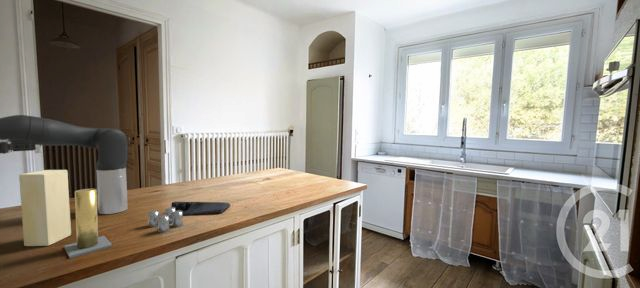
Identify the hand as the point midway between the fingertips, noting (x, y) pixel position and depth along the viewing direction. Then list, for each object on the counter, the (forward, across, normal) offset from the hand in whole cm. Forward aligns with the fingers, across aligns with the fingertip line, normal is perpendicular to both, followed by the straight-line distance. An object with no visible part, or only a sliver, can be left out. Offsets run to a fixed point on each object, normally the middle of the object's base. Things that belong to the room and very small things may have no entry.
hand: (34, 144), depth 68 cm
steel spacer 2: (+28, -6, +30) cm, 41 cm away
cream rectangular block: (+2, +12, +30) cm, 33 cm away
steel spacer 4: (+33, -5, +30) cm, 45 cm away
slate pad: (+9, -2, +30) cm, 31 cm away
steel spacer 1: (+27, +1, +30) cm, 40 cm away
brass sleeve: (+9, -2, +29) cm, 31 cm away
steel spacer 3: (+32, 0, +30) cm, 44 cm away
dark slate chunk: (+46, +5, +31) cm, 56 cm away
